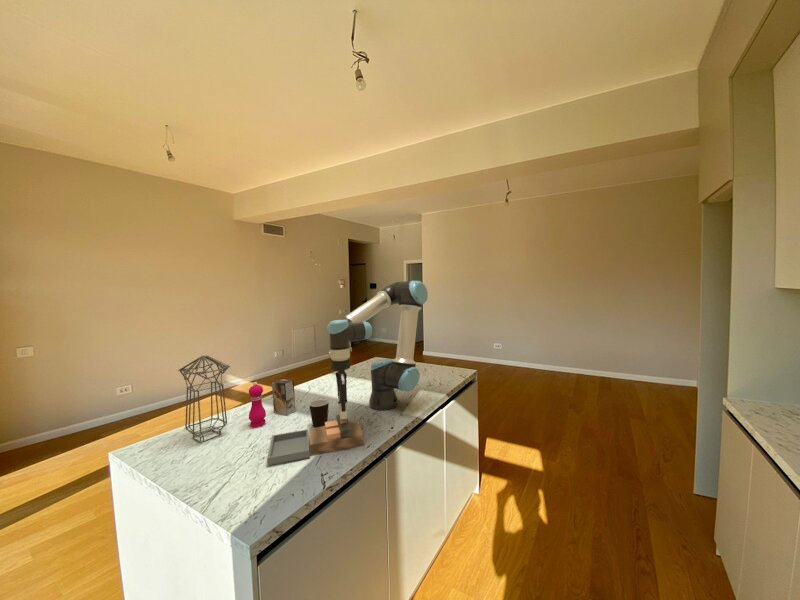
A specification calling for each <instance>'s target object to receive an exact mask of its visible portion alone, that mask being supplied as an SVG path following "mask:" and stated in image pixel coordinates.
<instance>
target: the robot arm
mask: <svg viewBox="0 0 800 600" xmlns="http://www.w3.org/2000/svg"><path fill="white" fill-rule="evenodd" d="M428 297H429V292H428V289H427V287H426V285H425V284H424V282H422V281H421V280H407V281H395V282H393V283H390V284H389V285H387V286H385V287H384V288H382V289H381V290H379V291H377V293H376V295H375V296H374V297H372V298H370V299H369V300H367V301H366V302H365V303H363V304H361V305H360V306H357V308H356V309H354V310H353V311H351V312H349V313H348V314H347V315H345V316H343V317H342V318H340V319H335V320H332V321H330V322H329V323H328V324H327V328H326V331H327V335H328V336H329V349H330V350H329V352H328V354H329V355H330V359H331V360H330V369H331V370H332V371H336V372H335V379H336V384H337V385H336V387H337V388H336V389H337V399H338V401H337V404H338V407H339V406H340V412H339V411H338V415H339V416H340V420H341V419H347V418H348V408H347V405H348V404H347V403H348V395H347V392H348V391H347V383H348V382H347V381H348V380H347V377H348V375H347V373H346V370H349V369H350V368H351V359H350V357H351V351H350V350H351V349H350V343H353V342H359V341H364V340H367V339H368V340H369V338H371V337H372V335H373V327H372V325H371V324H370V322H369V321H368V320H369V319H371V318H372V317H373V316H375V315H377V314H379V312H381V311H382V310H384V308H385V309H386V308H389V307H391V306H394V305H398V307H399V309H400V318H399V320H400V321H399V327H398V328H399V329H398V334H397V335H398V337H397V344H396V345H397V346H396V354H395V358H394V359H391V358H389V359H387V358H386V359H380V360H376V361H373V362H372V363H371V364H370V380H371V394H370V397H369V400H368V401H369V404H368V405H369V407H370V409H372V410H377V411H387V410H392V409H395V408H396V407H398V406H399V398H398V396H397V392H396V390H399V391H401V392H404V391H405V392H411V391H413V390H414V389H415V387H417V386H418V383H419V381H420V376H421V375H420V372H419V369H418V368H417V367H416V364H417V363H416V362H415V360H414V356H415V355H414V354H415V346H416V337H417V336H416V335H417V328H418V318H419V316H418V315H419V312H420V311H421V310H422V307H423V305H424V304H425V303H426V302H427V301H428ZM395 389H396V390H395ZM339 396H340V402H339Z"/></svg>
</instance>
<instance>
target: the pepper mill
mask: <svg viewBox="0 0 800 600" xmlns="http://www.w3.org/2000/svg"><path fill="white" fill-rule="evenodd" d="M263 393H264V388H263V386H262V385H260V384H259V383H258V382H257V381H254V382H253V384H252V385H251V386H250V387H249V389H248V395H249V396H250V401H251V406H250V410H249V412H248V413H249V414H248V420H249V421H250V422H249V423H250V424H249V425H250V428H252V429H253V428H254V429H255V428H261V427H263V426H264V425H265V424H266V419H265V418H266V416H267V412H266V410H265V407H264V405H263V402H262V399H263V395H262V394H263Z"/></svg>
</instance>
